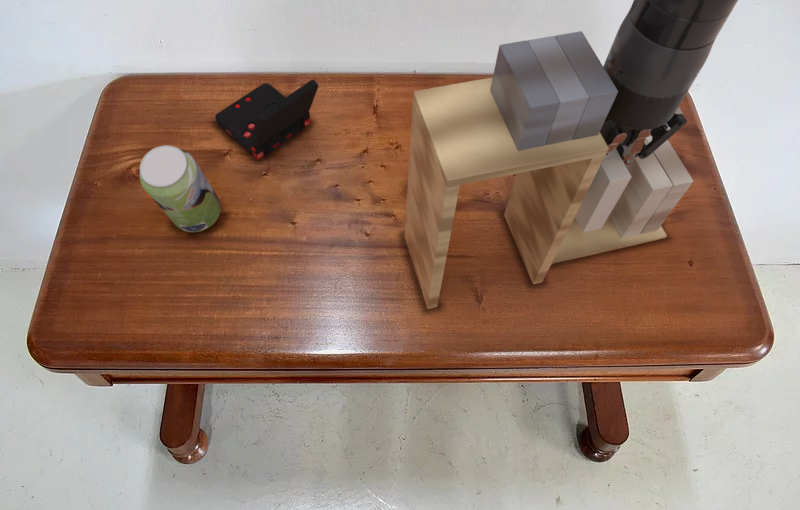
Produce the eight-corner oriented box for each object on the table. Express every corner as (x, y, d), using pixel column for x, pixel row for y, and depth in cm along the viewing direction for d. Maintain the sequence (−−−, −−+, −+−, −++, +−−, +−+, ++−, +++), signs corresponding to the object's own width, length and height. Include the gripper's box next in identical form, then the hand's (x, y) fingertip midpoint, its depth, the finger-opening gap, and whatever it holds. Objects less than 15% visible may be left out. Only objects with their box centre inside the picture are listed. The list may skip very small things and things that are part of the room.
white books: (665, 238, 74) (705, 186, 65) (544, 266, 72) (567, 216, 63) (633, 180, 78) (666, 125, 69) (517, 205, 76) (535, 151, 67)
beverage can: (227, 195, 76) (202, 130, 65) (216, 246, 72) (188, 186, 62) (176, 193, 76) (144, 128, 65) (163, 244, 72) (126, 183, 61)
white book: (601, 228, 70) (632, 176, 61) (582, 233, 70) (610, 181, 61) (577, 181, 73) (603, 125, 65) (559, 185, 73) (582, 129, 64)
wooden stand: (542, 282, 71) (631, 104, 45) (427, 309, 68) (453, 138, 43) (512, 213, 75) (578, 17, 50) (404, 236, 73) (415, 44, 48)
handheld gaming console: (269, 88, 85) (256, 30, 76) (327, 135, 81) (321, 79, 72) (214, 124, 81) (194, 67, 73) (273, 175, 77) (259, 121, 69)
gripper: (595, 109, 49) (547, 222, 65) (746, 79, 51) (665, 196, 67) (561, 46, 53) (522, 167, 68) (703, 21, 55) (635, 144, 70)
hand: (593, 181), depth 67 cm, fingers closed on white book, 2 cm apart
